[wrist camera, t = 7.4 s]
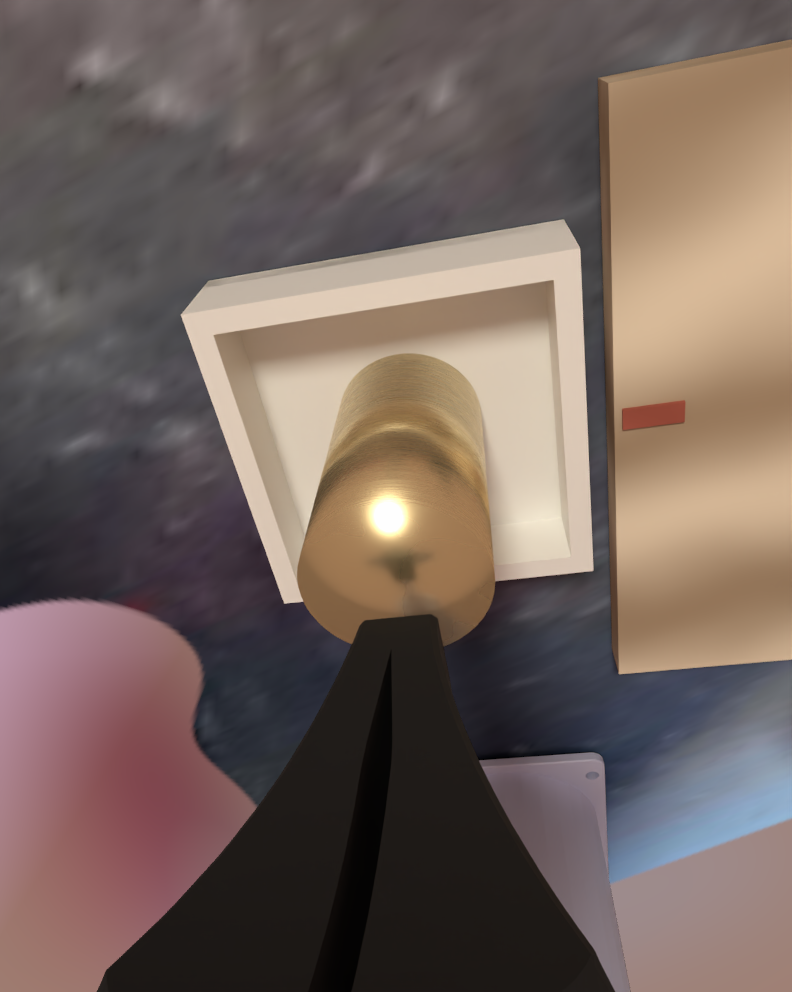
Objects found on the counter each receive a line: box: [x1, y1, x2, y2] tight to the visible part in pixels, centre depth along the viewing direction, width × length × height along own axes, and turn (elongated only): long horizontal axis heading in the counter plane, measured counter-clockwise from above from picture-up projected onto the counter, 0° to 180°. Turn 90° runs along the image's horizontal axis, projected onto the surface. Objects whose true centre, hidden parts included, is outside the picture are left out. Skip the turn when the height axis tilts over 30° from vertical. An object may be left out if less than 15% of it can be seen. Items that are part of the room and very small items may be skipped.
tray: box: [181, 219, 593, 604], centre depth 20 cm, size 9×9×2 cm
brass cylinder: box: [297, 353, 495, 647], centre depth 18 cm, size 4×4×7 cm
